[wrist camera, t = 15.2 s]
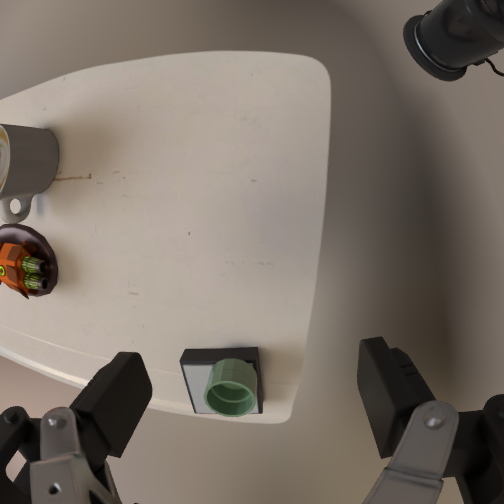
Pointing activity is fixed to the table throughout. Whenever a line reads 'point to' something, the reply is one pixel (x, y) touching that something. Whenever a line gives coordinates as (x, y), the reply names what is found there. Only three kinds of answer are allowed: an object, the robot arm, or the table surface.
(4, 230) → the toy spacecraft
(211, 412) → the scale
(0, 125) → the coffee mug
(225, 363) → the green cup
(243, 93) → the table surface
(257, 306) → the table surface
